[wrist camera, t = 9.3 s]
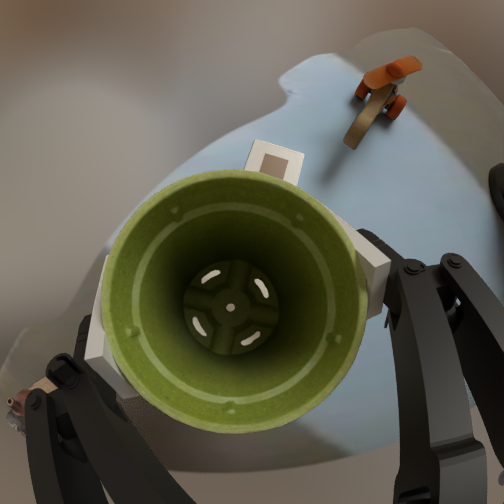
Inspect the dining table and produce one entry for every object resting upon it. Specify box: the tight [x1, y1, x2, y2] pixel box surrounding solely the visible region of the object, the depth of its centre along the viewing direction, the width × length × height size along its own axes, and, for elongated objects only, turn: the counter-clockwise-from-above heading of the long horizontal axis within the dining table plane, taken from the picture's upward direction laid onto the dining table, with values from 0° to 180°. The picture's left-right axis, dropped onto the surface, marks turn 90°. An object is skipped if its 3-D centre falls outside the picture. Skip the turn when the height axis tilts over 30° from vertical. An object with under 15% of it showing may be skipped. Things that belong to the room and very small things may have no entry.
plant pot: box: [101, 169, 367, 434], centre depth 13 cm, size 9×9×9 cm
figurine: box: [7, 377, 57, 437], centre depth 21 cm, size 7×7×12 cm
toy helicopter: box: [343, 56, 422, 150], centre depth 32 cm, size 8×21×14 cm, turn 145°
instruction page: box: [244, 139, 305, 186], centre depth 35 cm, size 10×7×1 cm
